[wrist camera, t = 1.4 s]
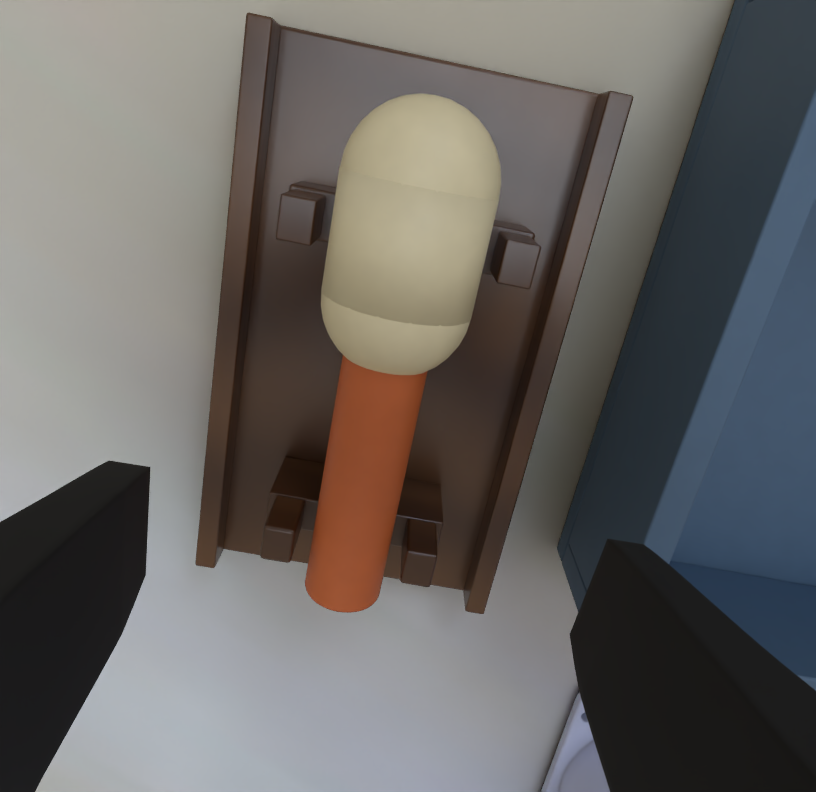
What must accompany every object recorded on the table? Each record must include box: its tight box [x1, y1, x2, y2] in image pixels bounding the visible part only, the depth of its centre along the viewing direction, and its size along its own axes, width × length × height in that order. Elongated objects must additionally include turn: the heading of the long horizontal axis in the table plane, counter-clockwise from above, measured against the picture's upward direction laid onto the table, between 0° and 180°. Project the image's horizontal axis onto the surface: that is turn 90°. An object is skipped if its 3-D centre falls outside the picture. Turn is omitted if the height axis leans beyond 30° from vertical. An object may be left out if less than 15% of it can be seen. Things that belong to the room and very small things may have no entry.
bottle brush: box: [305, 93, 501, 612], centre depth 15 cm, size 12×3×3 cm, turn 169°
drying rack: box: [196, 13, 633, 614], centre depth 17 cm, size 15×9×5 cm, turn 169°
